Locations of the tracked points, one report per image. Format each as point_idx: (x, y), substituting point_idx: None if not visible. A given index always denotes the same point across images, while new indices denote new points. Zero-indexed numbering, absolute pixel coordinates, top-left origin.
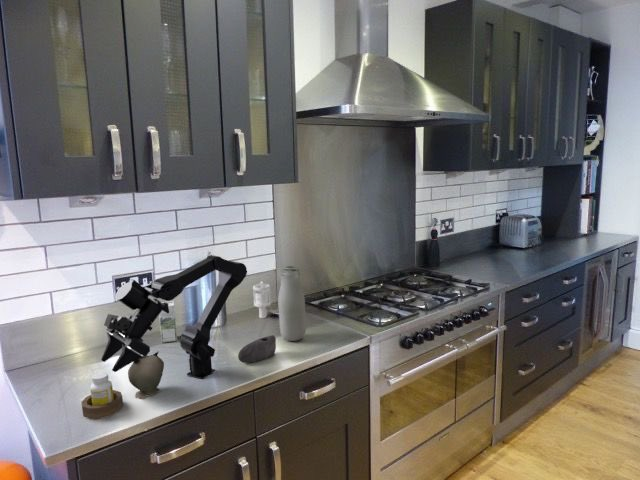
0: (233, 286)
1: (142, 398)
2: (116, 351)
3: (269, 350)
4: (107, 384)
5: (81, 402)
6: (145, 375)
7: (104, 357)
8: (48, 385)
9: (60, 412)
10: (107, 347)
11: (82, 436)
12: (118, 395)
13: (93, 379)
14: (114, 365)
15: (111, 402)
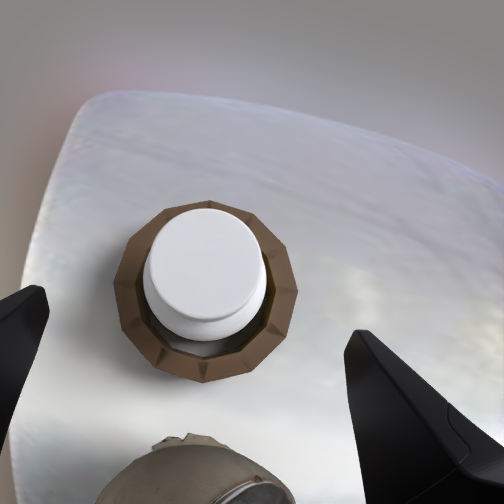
0: None
1: (159, 444)
2: (368, 484)
3: None
4: (152, 294)
5: (250, 213)
6: (98, 497)
7: (362, 358)
8: (496, 241)
9: (309, 182)
10: (428, 417)
11: (86, 167)
12: (174, 358)
13: (195, 211)
14: (15, 304)
15: (132, 300)
